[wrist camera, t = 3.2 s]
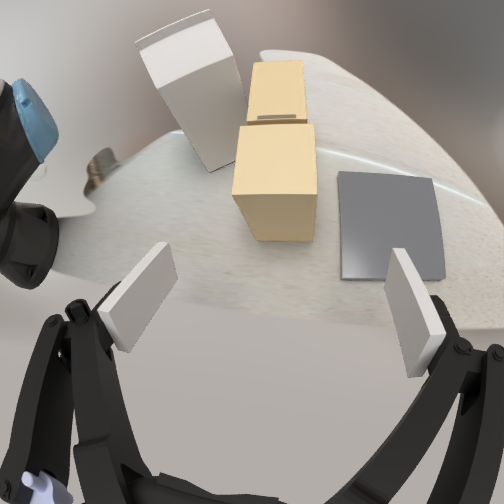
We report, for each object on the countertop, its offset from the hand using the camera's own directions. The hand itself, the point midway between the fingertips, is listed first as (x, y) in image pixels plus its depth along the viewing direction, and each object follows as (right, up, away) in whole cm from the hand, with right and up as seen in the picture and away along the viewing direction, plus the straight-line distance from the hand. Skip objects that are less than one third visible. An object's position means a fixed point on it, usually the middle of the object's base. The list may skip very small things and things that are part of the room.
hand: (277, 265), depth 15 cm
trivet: (+14, +4, +12) cm, 19 cm away
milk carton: (-5, +15, +19) cm, 25 cm away
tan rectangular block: (+2, +5, +14) cm, 15 cm away
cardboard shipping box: (+3, +13, +16) cm, 21 cm away
